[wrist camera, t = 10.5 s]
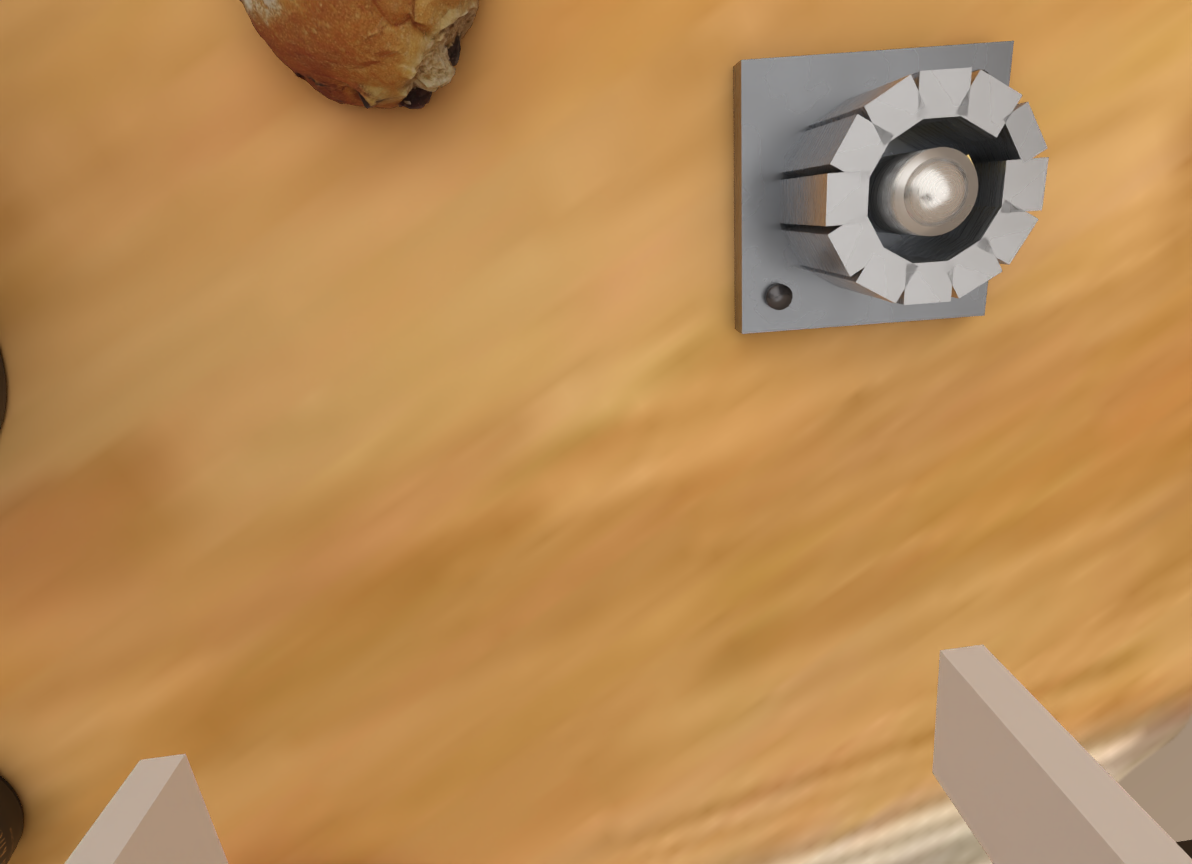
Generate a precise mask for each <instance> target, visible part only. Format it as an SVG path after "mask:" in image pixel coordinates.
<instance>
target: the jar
mask: <svg viewBox="0 0 1192 864" xmlns="http://www.w3.org/2000/svg"><path fill="white" fill-rule="evenodd" d="M22 831H23V810H22V806H21V803H20V800H19V798H18V796H17V794H16V793H15V791H14V790H13V788H12V787H11V786H10V784H9V783H8V782H7V781H6V780H5V779H4V778H3V777H2V776H0V864H7V863H8V861H9V860H10V858H11V856H12V854H13V852H14V850H15V848H16V846H17V844H18V842H19V840H20V838H21V835H22Z"/></svg>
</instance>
